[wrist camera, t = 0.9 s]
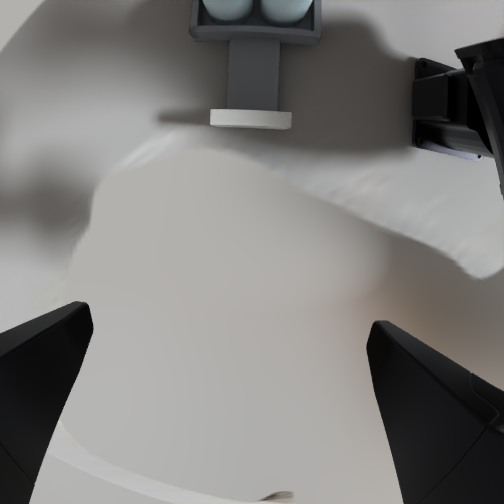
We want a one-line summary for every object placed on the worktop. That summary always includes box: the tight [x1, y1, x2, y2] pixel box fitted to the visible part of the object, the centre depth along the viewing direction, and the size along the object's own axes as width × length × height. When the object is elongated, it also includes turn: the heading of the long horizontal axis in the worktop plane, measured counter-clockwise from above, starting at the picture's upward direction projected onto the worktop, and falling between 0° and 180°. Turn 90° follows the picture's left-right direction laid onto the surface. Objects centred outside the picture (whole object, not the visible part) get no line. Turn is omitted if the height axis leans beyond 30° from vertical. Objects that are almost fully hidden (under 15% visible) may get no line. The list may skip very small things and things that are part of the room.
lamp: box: [189, 0, 321, 130], centre depth 15 cm, size 8×10×4 cm
